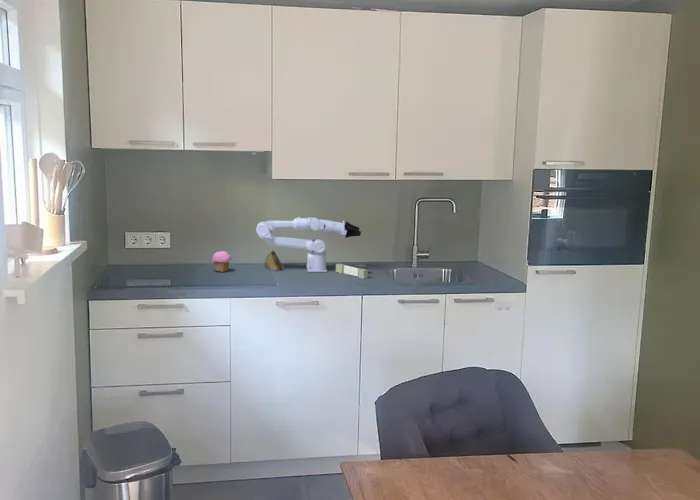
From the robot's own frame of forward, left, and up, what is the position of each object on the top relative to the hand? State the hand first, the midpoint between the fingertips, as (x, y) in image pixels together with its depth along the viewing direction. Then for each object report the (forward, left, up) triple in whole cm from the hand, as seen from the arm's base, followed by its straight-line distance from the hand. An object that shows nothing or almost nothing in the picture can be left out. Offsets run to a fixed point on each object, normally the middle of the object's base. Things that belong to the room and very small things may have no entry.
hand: (359, 231), depth 323 cm
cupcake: (-67, -3, -20) cm, 70 cm away
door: (-5, -11, -19) cm, 23 cm away
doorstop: (0, -6, -20) cm, 21 cm away
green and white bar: (-5, -11, -20) cm, 23 cm away
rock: (-42, +5, -20) cm, 47 cm away
